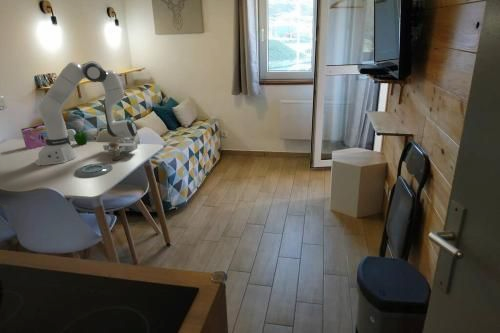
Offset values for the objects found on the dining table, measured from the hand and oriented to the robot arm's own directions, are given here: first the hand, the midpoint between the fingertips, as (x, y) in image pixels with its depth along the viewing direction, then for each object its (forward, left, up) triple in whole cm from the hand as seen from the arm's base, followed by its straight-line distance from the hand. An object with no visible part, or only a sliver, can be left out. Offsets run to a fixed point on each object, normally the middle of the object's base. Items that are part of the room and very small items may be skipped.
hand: (114, 150), depth 213 cm
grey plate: (-13, -12, -6) cm, 19 cm away
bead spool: (0, +1, -6) cm, 6 cm away
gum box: (-42, +62, -7) cm, 75 cm away
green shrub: (-17, +49, -6) cm, 52 cm away
